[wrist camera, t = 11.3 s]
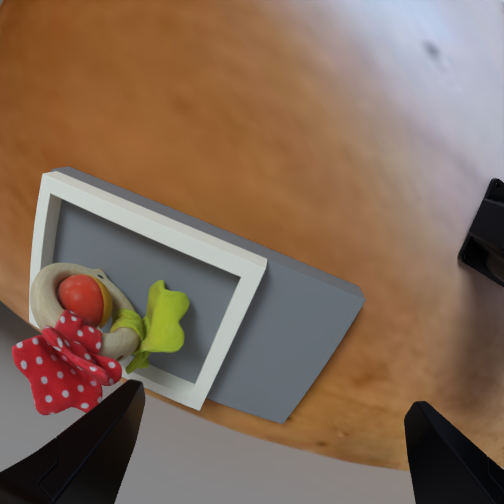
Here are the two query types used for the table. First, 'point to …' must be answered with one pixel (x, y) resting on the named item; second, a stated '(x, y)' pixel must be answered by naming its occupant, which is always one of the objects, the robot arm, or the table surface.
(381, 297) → the table surface
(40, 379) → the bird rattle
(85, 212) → the base plate
